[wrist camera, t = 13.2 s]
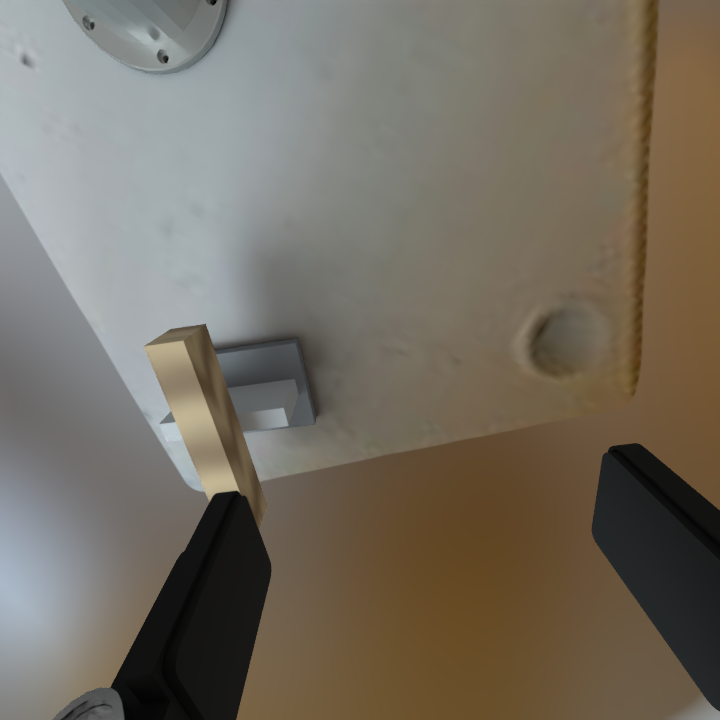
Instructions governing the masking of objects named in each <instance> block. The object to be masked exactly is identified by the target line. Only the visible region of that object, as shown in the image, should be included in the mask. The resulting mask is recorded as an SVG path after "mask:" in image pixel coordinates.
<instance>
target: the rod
mask: <svg viewBox="0 0 720 720" xmlns="http://www.w3.org/2000/svg"><path fill="white" fill-rule="evenodd" d="M144 348H145V351H146V353H147V355H148V358H149V360H150V362H151V365H152V367H153V369H154V372H155V374H156V377H157V379H158V381H159V384H160V386H161V388H162V391H163V393H164V395H165V398H166V400H167V403H168V405H169V407H170V410H171V412H172V414H173V417H174V419H175V421H176V424H177V426H178V428H179V431H180V433H181V436H182V438H183V440H184V443H185V445H186V447H187V450H188V452H189V454H190V457H191V459H192V462H193V464H194V466H195V469H196V471H197V473H198V476H199V478H200V480H201V483H202V485H203V487H204V490H205V492H206V495H207V497H208V499H209V502H210V501H211V499H212V497H213V496H214V494H216V493H220V492H229V491H239V492H240V494H241V496H243V495H245V496H246V497H247V499H248V502H249V504H250V507H251V510H252V513H253V515H254V518H255V521H256V524H257V526H258V529H259V528H260V525H261V521H262V518H263V515H264V512H265V509H266V506H267V503H266V500H265V497H264V495H263V492H262V488H261V486H260V483H259V480H258V477H257V474H256V471H255V468H254V465H253V462H252V459H251V456H250V453H249V450H248V447H247V444H246V441H245V438H244V435H243V433H242V430H241V427H240V424H239V421H238V418H237V415H236V412H235V409H234V406H233V403H232V400H231V397H230V394H229V391H228V388H227V385H226V382H225V379H224V377H223V374H222V371H221V368H220V365H219V362H218V359H217V356H216V353H215V350H214V347H213V344H212V341H211V338H210V335H209V332H208V329H207V326H206V324H202V325H196V326H189V327H182V328H175V329H170V330H169V331H167V332H166V333H164V334H163V335H161V336H159V337H158V338H156V339H155V340H153V341H152V342H150V343H148V344H147V345H145V346H144Z"/></svg>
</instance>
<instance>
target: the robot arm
mask: <svg viewBox="0 0 720 720" xmlns="http://www.w3.org/2000/svg"><path fill="white" fill-rule="evenodd" d="M62 1H63V3H64V5H65V6H66V8H67V10H68V11H69V13H70V15H71V16H72V18H73V19H74V21H75V22H76V23H77V24H78V26H79V27H80V28H81V29H82V31H83V32H84V33H85V34H86V36H87V37H88V38H89V39H91V40H92V41H93V42H94V43H95V44H96V45H97V46H98V47H99V48H100V49H101V50H103V51H104V52H106V53H107V54H108V55H110V56H111V57H113V58H114V59H116V60H117V61H119V62H121V63H123V64H125V65H127V66H128V67H130V68H133V69H136V70H139V71H142V72H145V73H151V74H160V75H162V74H170V73H176V72H179V71H181V70H184V69H186V68H189V67H190V66H192V65H193V64H195V63H196V62H197V61H199V60H200V59H201V58H202V57H203V56H204V55H205V54H206V53H207V51H208V50H209V49H210V48H211V47H212V45H213V43H214V41H215V39H216V37H217V35H218V34H219V32H220V29H221V26H222V22H223V19H224V16H225V11H226V4H227V0H217V2H216V4H215V5H213V1H215V0H62ZM94 26H95V27H94ZM168 57H169V60H168V62H167V63H166V59H167V58H168ZM592 534H593V537H594V540H595V542H596V543H597V545H598V546H599V548H600V549H601V551H602V552H603V553H604V555H605V556H606V558H607V559H608V560H609V562H610V563H611V565H612V566H613V568H614V569H615V570H616V572H617V573H618V575H619V576H620V577H621V579H622V580H623V582H624V583H625V585H626V586H627V587H628V589H629V590H630V592H631V593H632V594H633V595H634V597H635V599H636V600H637V601H638V603H639V604H640V606H641V607H642V608H643V610H644V611H645V613H646V614H647V615H648V617H649V618H650V620H651V621H652V623H653V624H654V625H655V627H656V628H657V630H658V631H659V632H660V634H661V635H662V637H663V638H664V640H665V641H666V642H667V644H668V645H669V647H670V648H671V650H672V651H673V652H674V654H675V655H676V656H677V658H678V659H679V661H680V662H681V664H682V665H683V667H684V668H685V669H686V671H687V672H688V673H689V675H690V676H691V678H692V679H693V681H694V682H695V683H696V685H697V686H698V688H699V689H700V691H701V692H702V693H703V695H704V696H705V697H706V699H707V700H708V701H709V703H710V704H711V705H712V706H713V707H714V708H715V709H717V710H718V711H720V510H718V509H717V508H716V507H715V506H714V505H713V504H711V503H710V502H709V501H708V500H707V499H705V498H704V497H703V496H702V495H701V494H699V493H698V492H697V491H696V490H695V489H693V488H692V487H691V486H690V485H689V484H687V483H686V482H685V481H684V480H683V479H681V478H680V477H679V476H678V475H677V474H675V473H674V472H673V471H672V470H671V469H670V468H668V467H667V466H666V465H665V464H663V463H662V462H661V461H660V460H659V459H657V458H656V457H655V456H654V455H653V454H652V453H650V452H649V451H648V450H647V449H646V448H644V447H643V446H642V445H640V444H637V443H634V444H625V445H617V446H612V447H610V448H609V450H608V453H605V454H604V455H603V457H602V464H601V470H600V477H599V484H598V490H597V496H596V503H595V510H594V516H593V523H592ZM270 577H271V562H270V559H269V557H268V554H267V551H266V548H265V546H264V543H263V540H262V537H261V535H260V532H259V529H258V526H257V524H256V521H255V518H254V515H253V513H252V510H251V507H250V504H249V502H248V499H247V497H246V496H245V495H243V496H241V494H240V492H239V491H229V492H220V493H216V494H214V496H213V497H212V499H211V501H210V503H209V505H208V507H207V508H206V510H205V512H204V514H203V516H202V518H201V520H200V522H199V524H198V526H197V528H196V530H195V532H194V534H193V536H192V538H191V540H190V542H189V544H188V545H187V547H186V550H185V551H184V552H183V553H181V555H180V556H179V558H178V559H177V561H176V563H175V565H174V567H173V568H172V570H171V572H170V574H169V576H168V578H167V580H166V582H165V584H164V586H163V588H162V589H161V591H160V593H159V595H158V597H157V599H156V601H155V603H154V605H153V607H152V609H151V611H150V613H149V614H148V616H147V618H146V620H145V622H144V624H143V626H142V628H141V630H140V632H139V634H138V635H137V637H136V639H135V641H134V643H133V645H132V647H131V649H130V651H129V653H128V655H127V657H126V659H125V660H124V662H123V664H122V666H121V668H120V670H119V672H118V674H117V676H116V678H115V679H114V682H113V683H112V685H111V687H110V688H97V689H94V690H92V691H89V692H86V693H85V694H83V695H81V696H80V697H78V698H77V699H75V700H73V701H72V702H71V703H70V704H69V705H67V706H66V707H65V708H64V709H63V710H62V711H60V712H59V713H58V714H57V715H56V717H55V718H54V719H53V720H236V718H237V714H238V709H239V705H240V701H241V697H242V693H243V689H244V685H245V680H246V676H247V673H248V668H249V664H250V660H251V656H252V652H253V648H254V643H255V640H256V635H257V631H258V627H259V623H260V619H261V615H262V611H263V607H264V602H265V598H266V594H267V590H268V586H269V582H270Z"/></svg>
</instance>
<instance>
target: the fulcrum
mask: <svg viewBox="0 0 720 720" xmlns="http://www.w3.org/2000/svg"><path fill="white" fill-rule="evenodd" d="M215 353H216V356H217V359H218V362H219V365H220V368H221V371H222V374H223V377H224V379H225V382H226V385H227V388H228V391H229V394H230V397H231V400H232V403H233V406H234V409H235V412H236V415H237V418H238V421H239V424H240V427H241V430H242V433H251V432H259V431H266V430H274V429H282V428H290V427H298V426H305V425H313V424H315V422H316V413H315V408H314V404H313V400H312V396H311V391H310V387H309V383H308V379H307V374H306V370H305V366H304V362H303V357H302V353H301V349H300V344H299V340H298V338H296V339H289V340H282V341H275V342H268V343H261V344H254V345H247V346H240V347H233V348H226V349H219V350H215ZM159 426H160V428H161V430H162V432H163V435H164V437H165V439H166V441H167V442H169V441H176V440H183V438H182V436H181V433H180V431H179V428H178V426H177V424H176V421H175V419H174V417H173V414H172V412H170V413H169V414H168V415H167V416H166V417H165V418H164V419H163V421H162V422H161V423H160V424H159Z"/></svg>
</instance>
